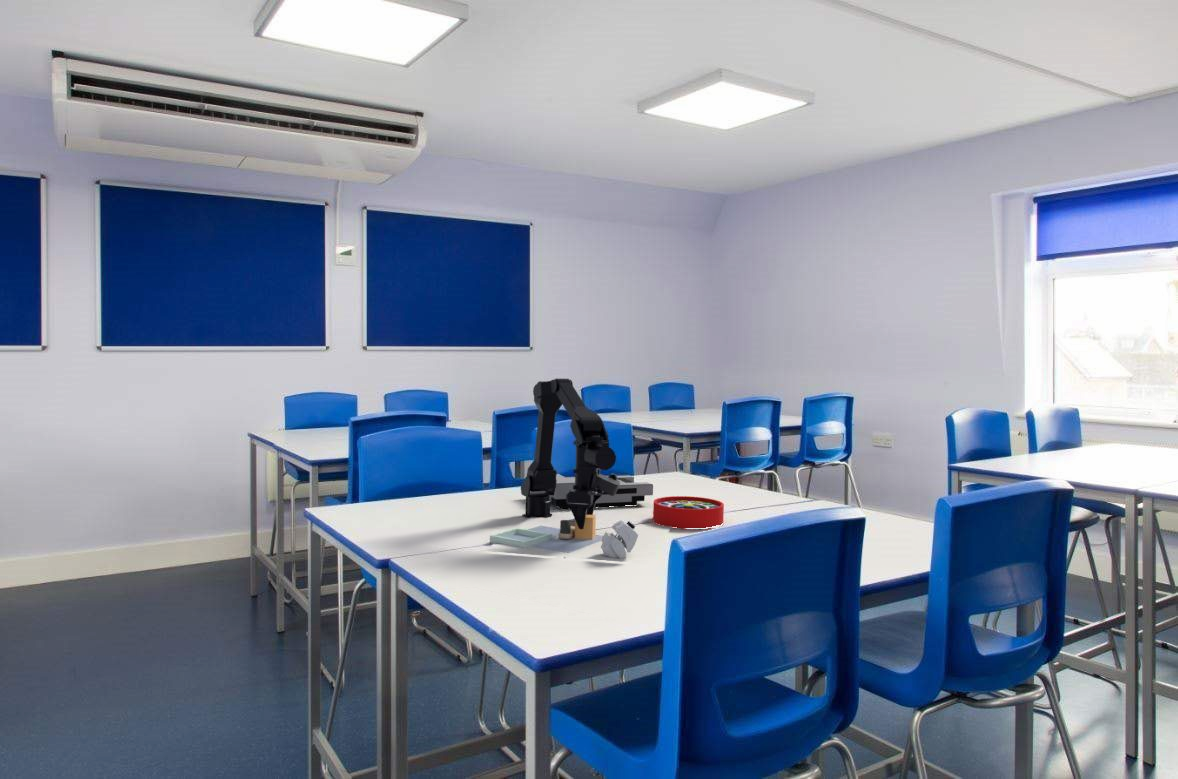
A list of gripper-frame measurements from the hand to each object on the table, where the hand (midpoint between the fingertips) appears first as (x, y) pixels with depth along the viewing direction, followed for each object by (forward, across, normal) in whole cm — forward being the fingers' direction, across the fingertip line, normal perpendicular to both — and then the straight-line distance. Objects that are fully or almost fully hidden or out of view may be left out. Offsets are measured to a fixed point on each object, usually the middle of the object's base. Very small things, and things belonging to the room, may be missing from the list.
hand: (585, 525), depth 205 cm
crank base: (+4, -3, +7) cm, 9 cm away
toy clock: (+4, +30, -24) cm, 39 cm away
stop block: (+3, 0, 0) cm, 3 cm away
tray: (+4, -8, +15) cm, 17 cm away
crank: (+3, +3, +4) cm, 6 cm away
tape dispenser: (+4, -15, -11) cm, 19 cm away
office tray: (+4, +51, +8) cm, 52 cm away
